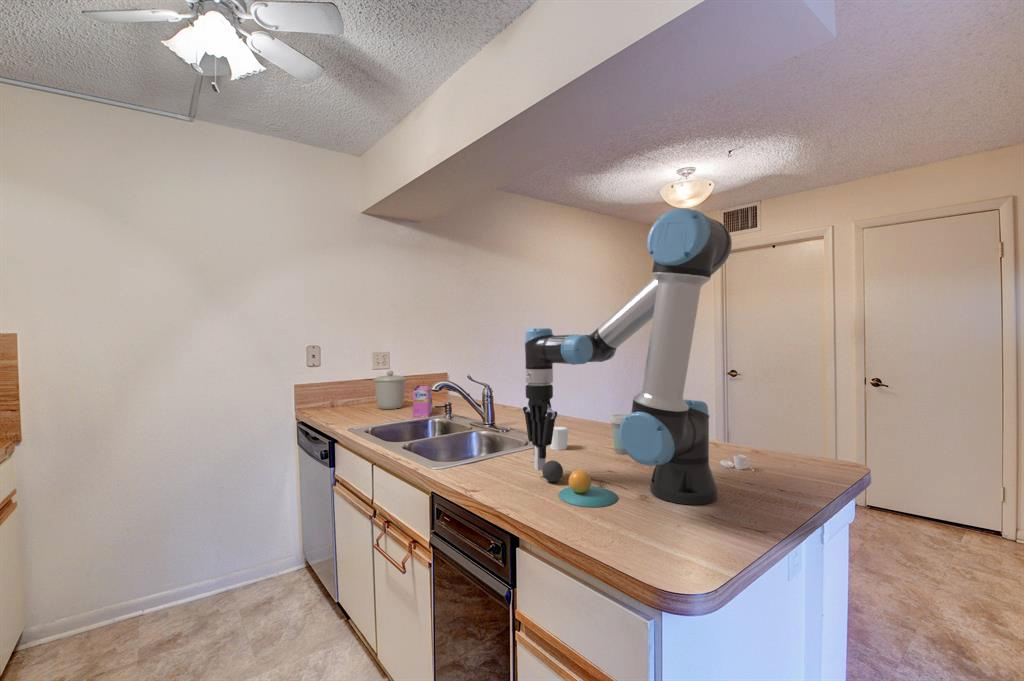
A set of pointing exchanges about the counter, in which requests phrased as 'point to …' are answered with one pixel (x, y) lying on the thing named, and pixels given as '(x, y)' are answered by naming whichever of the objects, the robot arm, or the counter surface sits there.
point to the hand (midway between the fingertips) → (540, 469)
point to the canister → (390, 390)
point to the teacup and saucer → (736, 462)
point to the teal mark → (589, 497)
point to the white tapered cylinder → (559, 438)
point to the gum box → (422, 401)
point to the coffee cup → (616, 425)
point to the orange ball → (579, 481)
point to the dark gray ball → (552, 471)
